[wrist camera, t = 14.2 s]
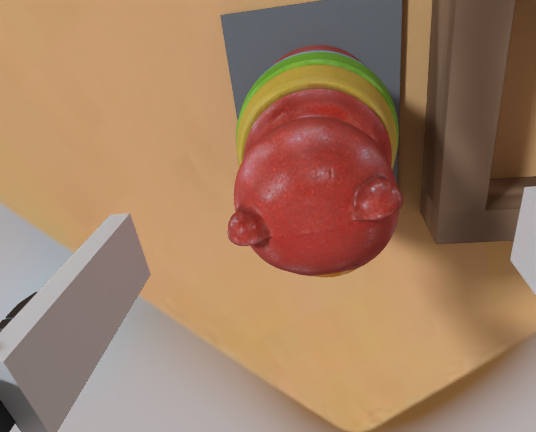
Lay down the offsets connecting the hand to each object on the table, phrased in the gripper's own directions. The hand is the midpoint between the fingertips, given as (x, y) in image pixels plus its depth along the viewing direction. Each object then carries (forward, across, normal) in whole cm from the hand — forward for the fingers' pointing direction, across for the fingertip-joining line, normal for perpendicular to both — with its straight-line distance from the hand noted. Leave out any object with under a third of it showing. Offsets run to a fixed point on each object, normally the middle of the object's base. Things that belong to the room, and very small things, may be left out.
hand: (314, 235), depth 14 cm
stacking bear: (+18, 0, -1) cm, 18 cm away
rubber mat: (+18, 0, -1) cm, 18 cm away
